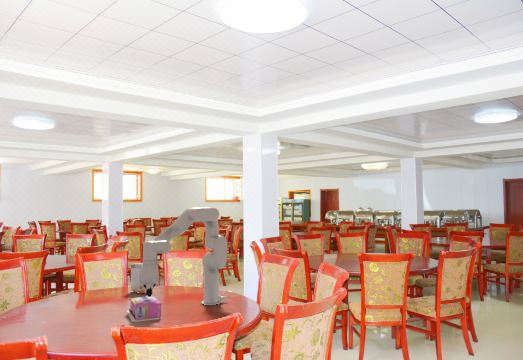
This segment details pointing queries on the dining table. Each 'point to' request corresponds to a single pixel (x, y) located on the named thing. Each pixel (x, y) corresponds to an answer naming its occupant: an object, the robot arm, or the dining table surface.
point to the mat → (139, 320)
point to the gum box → (145, 307)
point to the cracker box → (136, 278)
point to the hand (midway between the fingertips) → (149, 296)
